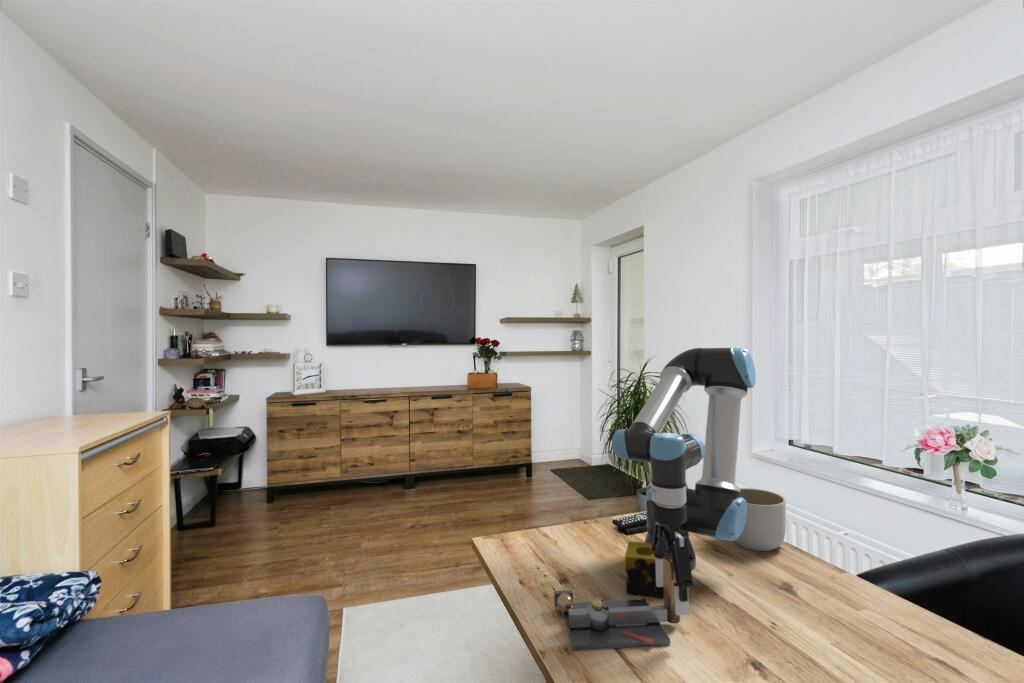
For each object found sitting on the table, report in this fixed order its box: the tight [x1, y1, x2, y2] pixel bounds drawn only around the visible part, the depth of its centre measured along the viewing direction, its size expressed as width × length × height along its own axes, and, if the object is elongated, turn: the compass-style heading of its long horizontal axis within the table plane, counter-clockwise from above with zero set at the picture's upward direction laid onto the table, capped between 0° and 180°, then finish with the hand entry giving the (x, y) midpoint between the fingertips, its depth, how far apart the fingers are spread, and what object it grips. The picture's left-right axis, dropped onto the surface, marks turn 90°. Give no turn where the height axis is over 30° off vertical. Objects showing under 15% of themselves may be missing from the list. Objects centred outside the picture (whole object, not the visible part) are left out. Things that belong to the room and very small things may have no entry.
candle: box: [624, 541, 664, 600], centre depth 124 cm, size 10×10×10 cm
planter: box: [734, 487, 787, 552], centre depth 148 cm, size 17×17×15 cm
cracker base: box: [553, 589, 671, 652], centre depth 107 cm, size 23×17×7 cm
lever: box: [568, 557, 681, 630], centre depth 107 cm, size 25×5×13 cm, turn 93°
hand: (671, 599), depth 107 cm, fingers open, 11 cm apart
